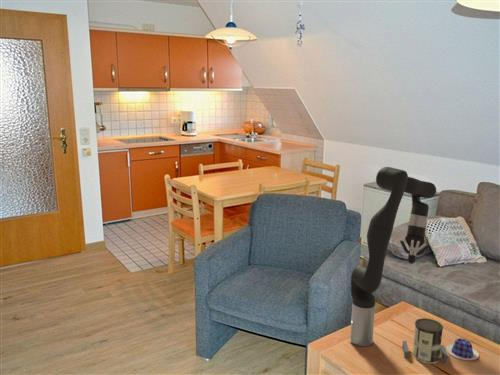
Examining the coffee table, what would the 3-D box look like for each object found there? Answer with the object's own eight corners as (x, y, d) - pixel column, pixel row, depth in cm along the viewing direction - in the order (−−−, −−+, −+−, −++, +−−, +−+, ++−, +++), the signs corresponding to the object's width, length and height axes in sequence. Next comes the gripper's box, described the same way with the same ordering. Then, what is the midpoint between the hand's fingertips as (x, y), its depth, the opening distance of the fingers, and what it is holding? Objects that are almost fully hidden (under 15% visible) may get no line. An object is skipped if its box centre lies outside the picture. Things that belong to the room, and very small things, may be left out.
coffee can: (435, 350, 182) (438, 318, 179) (443, 365, 172) (446, 332, 169) (409, 348, 184) (412, 317, 181) (415, 363, 174) (418, 330, 171)
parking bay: (404, 358, 177) (405, 351, 176) (402, 347, 184) (402, 340, 184) (447, 363, 173) (448, 356, 173) (443, 351, 181) (443, 345, 181)
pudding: (480, 351, 182) (482, 339, 181) (475, 365, 173) (477, 353, 172) (449, 342, 189) (450, 330, 188) (443, 355, 180) (444, 343, 178)
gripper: (403, 223, 197) (397, 261, 197) (434, 228, 195) (427, 267, 195) (400, 222, 205) (394, 259, 205) (430, 227, 203) (424, 265, 202)
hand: (410, 263), depth 200 cm, fingers closed
